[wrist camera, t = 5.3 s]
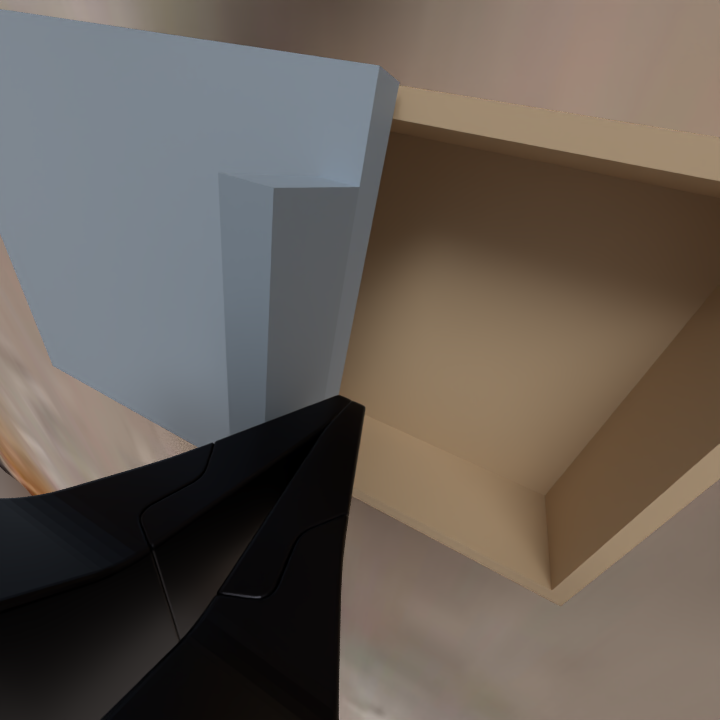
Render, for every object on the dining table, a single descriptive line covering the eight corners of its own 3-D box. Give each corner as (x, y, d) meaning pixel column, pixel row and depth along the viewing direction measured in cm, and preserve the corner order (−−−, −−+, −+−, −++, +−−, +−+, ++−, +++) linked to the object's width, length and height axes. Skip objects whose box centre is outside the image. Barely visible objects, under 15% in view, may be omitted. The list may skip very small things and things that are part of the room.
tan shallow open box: (814, 190, 9) (1073, 194, 5) (550, 501, 16) (560, 606, 12) (302, 94, 13) (199, 52, 9) (282, 379, 20) (222, 427, 16)
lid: (399, 82, 7) (281, -18, 3) (320, 486, 14) (258, 578, 11) (-41, 12, 11) (-295, -67, 8) (77, 356, 18) (-23, 394, 15)
